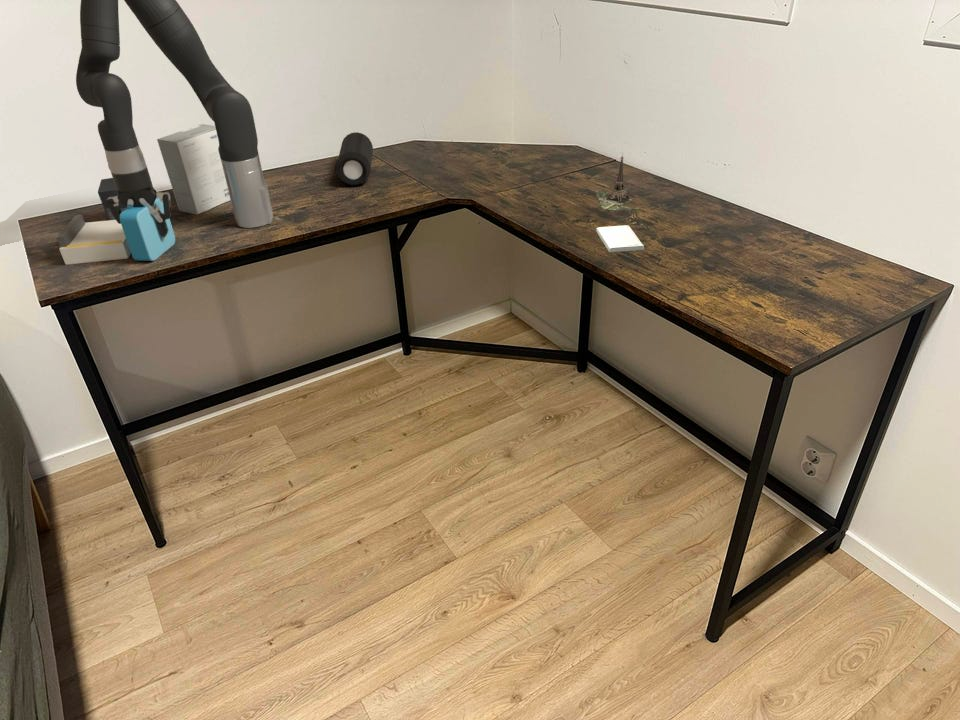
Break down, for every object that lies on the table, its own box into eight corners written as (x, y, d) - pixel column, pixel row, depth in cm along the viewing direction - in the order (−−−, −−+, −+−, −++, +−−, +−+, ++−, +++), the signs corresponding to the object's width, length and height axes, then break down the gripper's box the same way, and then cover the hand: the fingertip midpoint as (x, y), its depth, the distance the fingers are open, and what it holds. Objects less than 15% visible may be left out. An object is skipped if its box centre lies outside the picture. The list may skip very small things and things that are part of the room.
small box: (113, 216, 183) (99, 178, 178) (138, 212, 185) (126, 174, 179) (110, 229, 175) (95, 191, 169) (136, 225, 177) (123, 187, 171)
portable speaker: (344, 162, 217) (339, 131, 212) (375, 160, 218) (371, 129, 212) (338, 189, 196) (332, 155, 190) (372, 187, 197) (367, 153, 191)
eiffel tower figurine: (593, 192, 188) (596, 144, 181) (629, 191, 188) (634, 143, 181) (601, 212, 176) (605, 162, 168) (640, 211, 176) (646, 160, 168)
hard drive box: (221, 193, 196) (203, 123, 185) (239, 197, 193) (222, 126, 182) (177, 211, 185) (155, 138, 174) (196, 215, 182) (175, 141, 170)
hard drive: (644, 245, 154) (629, 224, 165) (609, 248, 154) (596, 226, 164) (643, 252, 155) (628, 230, 166) (608, 254, 155) (595, 233, 165)
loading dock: (143, 232, 173) (135, 208, 169) (128, 258, 160) (119, 232, 156) (85, 237, 171) (76, 213, 167) (65, 264, 158) (55, 239, 154)
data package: (160, 241, 167) (145, 195, 161) (177, 242, 167) (163, 195, 160) (134, 262, 158) (117, 214, 151) (152, 263, 157) (135, 214, 150)
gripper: (165, 159, 155) (185, 228, 164) (99, 164, 153) (123, 234, 162) (158, 169, 149) (179, 240, 158) (89, 175, 147) (115, 246, 156)
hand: (151, 236), depth 160 cm, fingers closed on data package, 5 cm apart
